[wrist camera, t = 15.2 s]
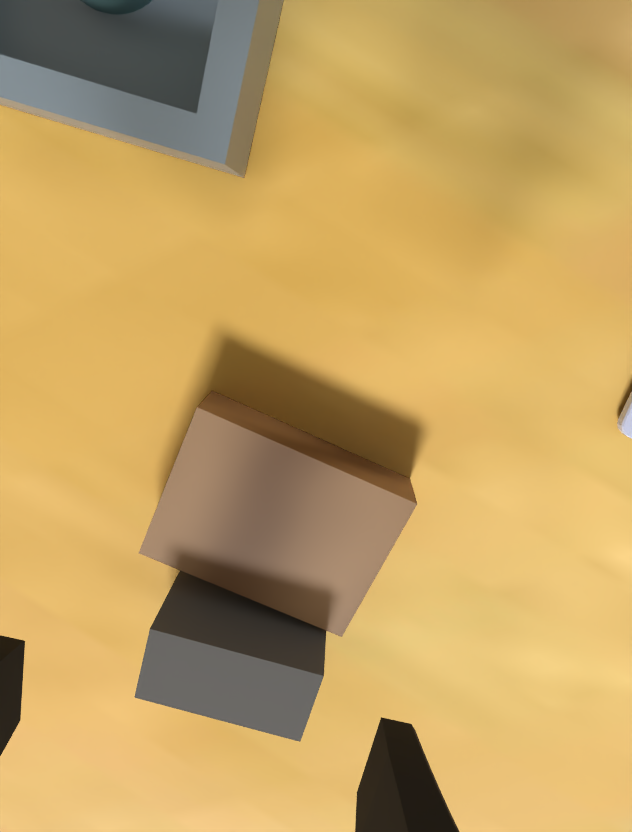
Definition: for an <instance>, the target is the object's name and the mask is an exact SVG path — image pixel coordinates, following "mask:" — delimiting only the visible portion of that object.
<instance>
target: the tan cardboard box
mask: <svg viewBox="0 0 632 832" xmlns="http://www.w3.org/2000/svg"><path fill="white" fill-rule="evenodd" d="M416 505H417V501H416V498H415V494H414V491H413V487H412V484H411V480H410V479H409V478H407V477H405V476H403V475H400V474H398V473H396V472H394V471H391V470H389V469H387V468H385V467H382V466H380V465H378V464H376V463H373V462H371V461H369V460H367V459H364V458H362V457H360V456H358V455H355V454H353V453H351V452H349V451H346V450H344V449H342V448H340V447H337V446H335V445H333V444H331V443H328V442H326V441H324V440H322V439H319V438H317V437H315V436H313V435H310V434H308V433H306V432H304V431H301V430H299V429H297V428H295V427H292V426H290V425H288V424H286V423H283V422H281V421H279V420H277V419H275V418H272V417H270V416H268V415H266V414H263V413H261V412H259V411H257V410H254V409H252V408H250V407H248V406H245V405H243V404H241V403H239V402H236V401H234V400H232V399H230V398H227V397H225V396H223V395H221V394H218V393H216V392H214V391H211V393H210V394H209V395H208V396H207V397H206V398H205V399H204V400H203V401H202V402H201V403H200V404H199V406H198V407H197V408H196V411H195V413H194V416H193V418H192V421H191V423H190V426H189V428H188V431H187V433H186V436H185V438H184V441H183V443H182V446H181V448H180V451H179V453H178V456H177V458H176V461H175V463H174V466H173V468H172V471H171V473H170V476H169V478H168V481H167V483H166V486H165V488H164V491H163V493H162V496H161V499H160V501H159V504H158V506H157V509H156V511H155V514H154V516H153V519H152V521H151V524H150V526H149V529H148V531H147V534H146V536H145V539H144V541H143V544H142V546H141V549H140V551H139V553H140V554H142V555H144V556H147V557H149V558H152V559H154V560H157V561H159V562H161V563H164V564H166V565H169V566H171V567H173V568H176V569H178V570H181V571H183V572H186V573H188V574H190V575H193V576H195V577H198V578H200V579H203V580H205V581H207V582H210V583H212V584H215V585H217V586H220V587H222V588H224V589H227V590H229V591H232V592H234V593H237V594H239V595H241V596H244V597H246V598H249V599H251V600H253V601H256V602H258V603H261V604H263V605H266V606H268V607H270V608H273V609H275V610H278V611H280V612H283V613H285V614H287V615H290V616H292V617H295V618H297V619H300V620H302V621H304V622H307V623H309V624H312V625H314V626H317V627H319V628H321V629H324V630H326V631H329V632H331V633H334V634H336V635H338V636H341V637H342V635H343V634H344V632H345V630H346V628H347V627H348V625H349V623H350V621H351V619H352V618H353V616H354V614H355V612H356V611H357V609H358V607H359V605H360V604H361V602H362V600H363V598H364V597H365V595H366V593H367V591H368V590H369V588H370V586H371V584H372V583H373V581H374V579H375V577H376V576H377V574H378V572H379V570H380V569H381V567H382V565H383V563H384V562H385V560H386V558H387V556H388V554H389V553H390V551H391V549H392V547H393V546H394V544H395V542H396V540H397V539H398V537H399V535H400V533H401V532H402V530H403V528H404V526H405V525H406V523H407V521H408V519H409V518H410V516H411V514H412V512H413V511H414V509H415V507H416Z"/></svg>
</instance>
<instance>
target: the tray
mask: <svg viewBox="0 0 632 832" xmlns="http://www.w3.org/2000/svg"><path fill="white" fill-rule="evenodd" d="M283 1H284V0H152V1H151V2H150V3H149V4H148V5H146V6H145V7H143V8H141V9H139V10H137V11H135V12H131V13H128V14H120V15H118V14H108V13H103V12H100V11H98V10H95V9H93V8H91V7H89V6H87V5H86V4H85V3H83V2H82V1H80V0H0V105H3V106H6V107H10V108H13V109H16V110H20V111H23V112H26V113H30V114H33V115H36V116H40V117H43V118H46V119H50V120H53V121H56V122H60V123H63V124H66V125H70V126H73V127H76V128H80V129H83V130H86V131H90V132H93V133H96V134H100V135H103V136H106V137H110V138H113V139H116V140H120V141H123V142H126V143H130V144H133V145H136V146H140V147H143V148H146V149H150V150H153V151H156V152H160V153H163V154H166V155H170V156H173V157H176V158H180V159H183V160H186V161H190V162H193V163H196V164H200V165H203V166H207V167H210V168H213V169H217V170H220V171H223V172H227V173H230V174H233V175H237V176H240V177H243V178H244V176H245V172H246V167H247V163H248V158H249V154H250V149H251V145H252V140H253V136H254V131H255V127H256V122H257V118H258V113H259V109H260V104H261V100H262V95H263V91H264V86H265V82H266V77H267V73H268V68H269V64H270V59H271V55H272V50H273V46H274V41H275V37H276V32H277V28H278V23H279V19H280V14H281V10H282V5H283Z"/></svg>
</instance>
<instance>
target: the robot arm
mask: <svg viewBox="0 0 632 832" xmlns="http://www.w3.org/2000/svg"><path fill="white" fill-rule="evenodd" d="M617 424H618V429H619V430H620V431H621V433H623V434H624V435H626V436H628V437H630V438H632V392H631V394H630V396H629V398H628V400H627V402H626V404H625V406H624V408H623V410H622V412H621V414H620V416H619V419H618V423H617ZM24 647H25V641H23V640H19V639H14V638H9V637H5V636H0V756H1V754H2V752H3V750H4V749H5V747H6V745H7V743H8V741H9V740H10V738H11V736H12V734H13V732H14V731H15V729H16V727H17V725H18V723H19V721H20V715H21V698H22V681H23V664H24ZM355 832H459V830H458V828H457V826H456V824H455V822H454V820H453V818H452V816H451V813H450V811H449V809H448V807H447V805H446V802H445V800H444V798H443V796H442V794H441V791H440V789H439V787H438V784H437V782H436V780H435V778H434V775H433V773H432V771H431V768H430V766H429V763H428V761H427V759H426V756H425V754H424V751H423V749H422V746H421V744H420V741H419V739H418V736H417V734H416V731H415V729H414V728H413V726H412V724H409V723H404V722H399V721H395V720H390V719H386V718H381V720H380V723H379V726H378V729H377V732H376V735H375V738H374V741H373V745H372V748H371V751H370V754H369V757H368V760H367V763H366V766H365V769H364V772H363V776H362V779H361V782H360V785H359V788H358V791H357V806H356V829H355Z"/></svg>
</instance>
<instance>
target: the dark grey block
mask: <svg viewBox="0 0 632 832" xmlns="http://www.w3.org/2000/svg"><path fill="white" fill-rule="evenodd" d="M325 642H326V630H324V629H321V628H319V627H317V626H314V625H312V624H309V623H307V622H304V621H302V620H300V619H297V618H295V617H292V616H290V615H287V614H285V613H283V612H280V611H278V610H275V609H273V608H270V607H268V606H266V605H263V604H261V603H258V602H256V601H253V600H251V599H249V598H246V597H244V596H241V595H239V594H237V593H234V592H232V591H229V590H227V589H224V588H222V587H220V586H217V585H215V584H212V583H210V582H207V581H205V580H203V579H200V578H198V577H195V576H193V575H190V574H188V573H186V572H183V571H181V570H180V572H179V574H178V576H177V578H176V580H175V581H174V583H173V585H172V587H171V589H170V591H169V593H168V595H167V597H166V599H165V601H164V603H163V605H162V607H161V609H160V610H159V612H158V614H157V616H156V618H155V620H154V622H153V624H152V626H151V628H150V631H149V636H148V640H147V644H146V649H145V653H144V658H143V662H142V667H141V671H140V675H139V680H138V684H137V689H136V693H135V698H139V699H142V700H146V701H150V702H154V703H157V704H161V705H165V706H169V707H172V708H176V709H180V710H184V711H187V712H191V713H195V714H199V715H202V716H206V717H210V718H213V719H217V720H221V721H225V722H228V723H232V724H236V725H240V726H243V727H247V728H251V729H255V730H258V731H262V732H266V733H270V734H273V735H277V736H281V737H285V738H288V739H292V740H296V741H301V738H302V735H303V732H304V729H305V727H306V724H307V721H308V718H309V715H310V713H311V710H312V707H313V704H314V701H315V699H316V696H317V693H318V690H319V688H320V685H321V682H322V679H323V676H324V660H325Z"/></svg>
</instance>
